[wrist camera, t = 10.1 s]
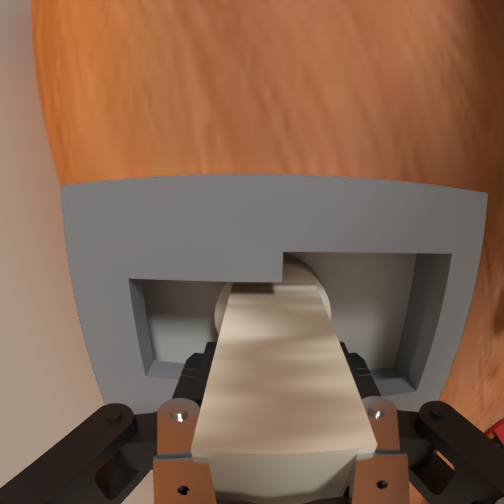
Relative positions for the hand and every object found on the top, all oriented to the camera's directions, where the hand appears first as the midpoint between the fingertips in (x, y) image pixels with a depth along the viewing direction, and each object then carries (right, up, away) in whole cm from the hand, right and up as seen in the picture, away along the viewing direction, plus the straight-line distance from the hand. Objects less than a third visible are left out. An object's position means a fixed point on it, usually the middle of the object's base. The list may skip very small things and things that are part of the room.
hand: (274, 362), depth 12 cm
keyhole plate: (+1, +2, +7) cm, 7 cm away
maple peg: (0, +1, +6) cm, 6 cm away
